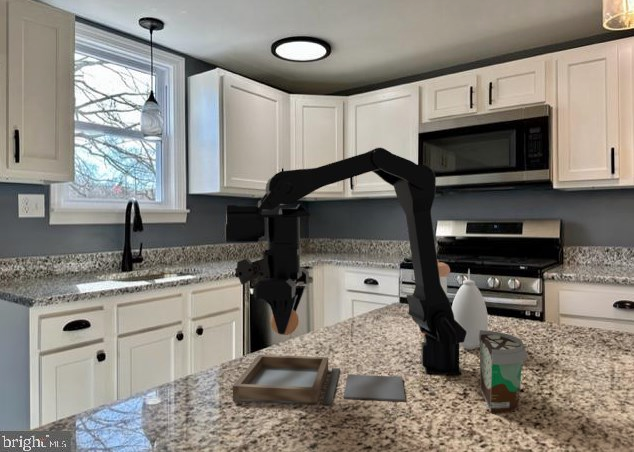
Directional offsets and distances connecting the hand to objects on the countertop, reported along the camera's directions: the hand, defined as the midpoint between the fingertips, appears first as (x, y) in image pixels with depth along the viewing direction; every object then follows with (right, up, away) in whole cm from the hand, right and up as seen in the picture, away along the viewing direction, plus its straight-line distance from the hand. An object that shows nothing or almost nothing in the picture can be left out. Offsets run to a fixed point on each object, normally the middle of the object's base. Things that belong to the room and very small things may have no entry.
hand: (284, 329), depth 78 cm
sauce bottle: (+40, -9, +20) cm, 46 cm away
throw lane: (+7, -10, -1) cm, 12 cm away
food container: (+36, -10, -8) cm, 38 cm away
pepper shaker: (+35, -9, +31) cm, 48 cm away
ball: (0, +2, 0) cm, 2 cm away
